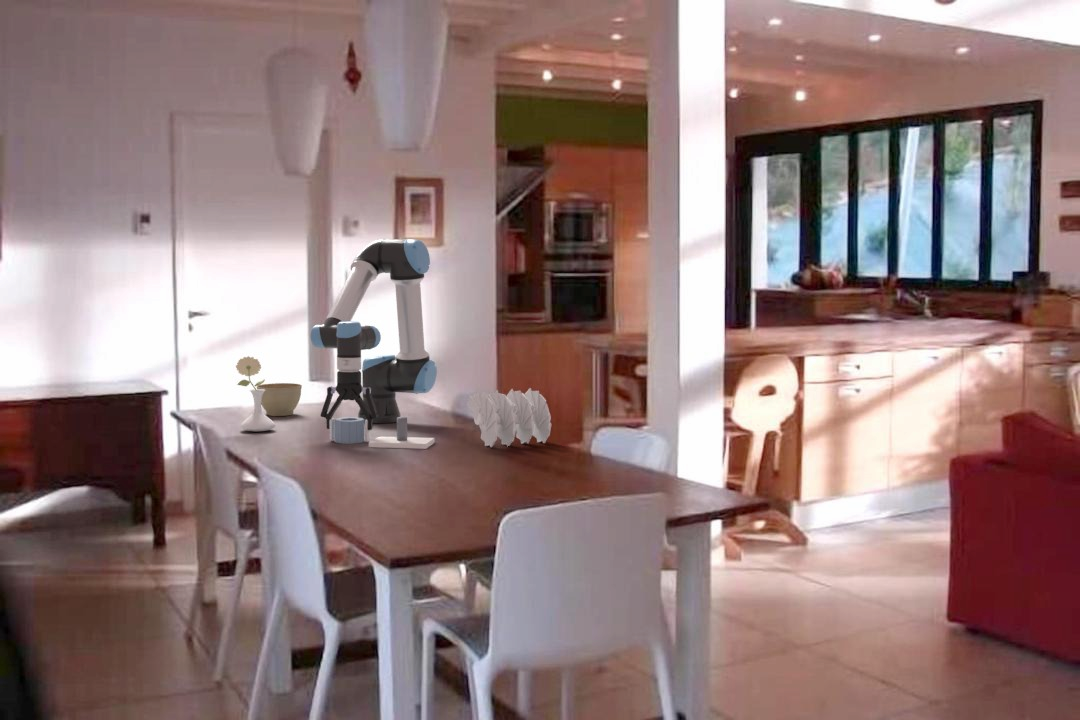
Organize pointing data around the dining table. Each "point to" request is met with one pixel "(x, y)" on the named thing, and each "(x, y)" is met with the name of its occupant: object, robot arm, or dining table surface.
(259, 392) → the flower in vase
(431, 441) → the post stand
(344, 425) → the hub ring
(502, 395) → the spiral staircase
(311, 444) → the dining table surface
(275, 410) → the planter bowl
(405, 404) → the dining table surface
